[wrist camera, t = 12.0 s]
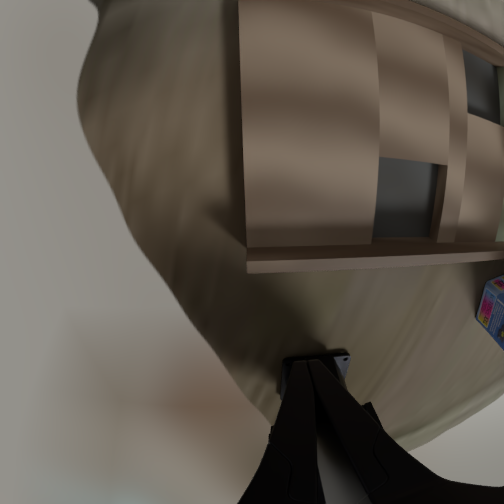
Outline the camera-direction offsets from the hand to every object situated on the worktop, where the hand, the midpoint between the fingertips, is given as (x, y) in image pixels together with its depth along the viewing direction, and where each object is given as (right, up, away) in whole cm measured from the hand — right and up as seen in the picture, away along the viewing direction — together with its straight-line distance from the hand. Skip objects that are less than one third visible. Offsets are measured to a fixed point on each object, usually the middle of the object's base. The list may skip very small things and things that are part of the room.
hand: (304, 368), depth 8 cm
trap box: (+12, +13, +7) cm, 19 cm away
